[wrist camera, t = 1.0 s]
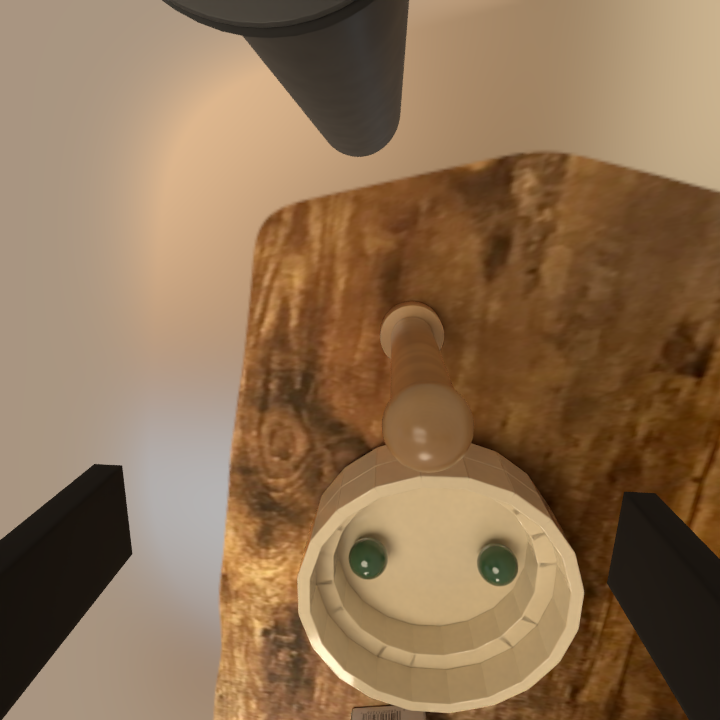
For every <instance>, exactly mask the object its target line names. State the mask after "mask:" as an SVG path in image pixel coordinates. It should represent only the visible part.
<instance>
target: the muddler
mask: <svg viewBox="0 0 720 720" xmlns="http://www.w3.org/2000/svg"><path fill="white" fill-rule="evenodd" d="M380 342H381V346H382V349H383V351H384V352H385V354H386V355H387V356H388V358H389V359H391V399H390V401H389V402H388V404H387V406H386V408H385V411H384V414H383V419H382V433H383V438H384V441H385V443H386V446H387V448H388V450H389V451H390V453H391V454H392V455H393V456H394V457H395V458H396V459H397V460H398V461H399V462H400V463H401V464H403V465H404V466H406V467H408V468H410V469H413V470H415V471H419V472H427V473H430V472H439V471H442V470H445V469H448V468H450V467H451V466H453V465H455V464H456V463H457V462H459V461H460V460H461V459H462V458H463V456H464V455H465V454H466V452H467V451H468V449H469V447H470V445H471V442H472V439H473V434H474V421H473V416H472V412H471V410H470V407H469V405H468V404H467V402H466V401H465V399H464V398H463V397H462V396H461V394H459V393H458V392H457V391H456V390H455V389H453V386H452V383H451V380H450V378H449V375H448V372H447V370H446V367H445V364H444V361H443V359H442V356H441V353H440V350H441V348H442V346H443V342H444V329H443V326H442V323H441V321H440V319H439V317H438V315H437V314H436V313H435V311H434V310H433V309H432V308H430V307H429V306H427V305H425V304H423V303H420V302H416V301H408V302H403V303H400V304H398V305H396V306H394V307H393V308H392V309H390V310H389V311H388V312H387V314H386V315H385V317H384V319H383V321H382V324H381V330H380Z"/></svg>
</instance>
